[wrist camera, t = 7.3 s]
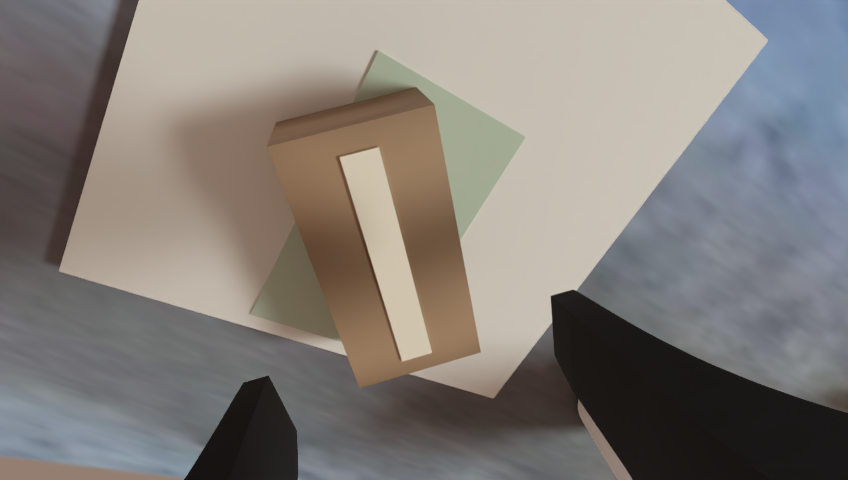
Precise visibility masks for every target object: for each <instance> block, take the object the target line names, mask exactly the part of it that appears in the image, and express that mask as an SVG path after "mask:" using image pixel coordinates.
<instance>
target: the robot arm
mask: <svg viewBox="0 0 848 480" xmlns="http://www.w3.org/2000/svg"><path fill="white" fill-rule="evenodd" d="M551 310H552V324H553V338H554V352H555V357H556V359H557V361H558V363H559V365H560V367H561V369H562V371H563V373H564V375H565V377H566V378H567V380H568V382H569V384H570V386H571V388H572V390H573V391H574V393H575V394H576V396H577V397H578V399H579V400H580V402H581V403H582V405H583V406H584V408H585V409H586V411H587V412H588V414H589V415H590V417H591V418H592V420H593V421H594V423H595V424H596V426H597V427H598V429H599V430H600V432H601V433H602V435H603V436H604V437H605V439H606V440H607V442H608V443H609V445H610V446H611V448H612V449H613V451H614V452H615V454H616V455H617V457H618V458H619V460H620V461H621V462H622V464H623V465H624V467H625V468H626V470H627V472H628V473H629V475H630V476H631V478H632V480H848V413H846V412H842V411H839V410H835V409H832V408H829V407H825V406H822V405H819V404H816V403H813V402H810V401H806V400H803V399H801V398H798V397H795V396H792V395H789V394H786V393H783V392H781V391H778V390H775V389H772V388H769V387H766V386H764V385H761V384H758V383H756V382H753V381H750V380H748V379H745V378H743V377H740V376H738V375H736V374H733V373H731V372H728V371H726V370H724V369H721V368H719V367H716V366H714V365H712V364H709V363H707V362H705V361H703V360H701V359H698V358H696V357H694V356H692V355H690V354H688V353H686V352H684V351H682V350H680V349H678V348H676V347H674V346H672V345H670V344H668V343H666V342H664V341H662V340H660V339H658V338H656V337H654V336H652V335H651V334H649V333H647V332H645V331H643V330H641V329H640V328H638V327H636V326H634V325H633V324H631V323H629V322H627V321H626V320H624V319H622V318H620V317H619V316H617V315H615V314H614V313H612V312H610V311H609V310H607V309H605V308H604V307H602V306H600V305H599V304H597V303H595V302H594V301H592V300H590V299H589V298H587V297H585V296H584V295H582V294H580V293H579V292H577V291H575V290H570V291H566V292H562V293H559V294H555V295H552V296H551ZM184 480H298V450H297V430H296V428H295V426H294V424H293V423H292V421H291V419H290V417H289V415H288V413H287V411H286V409H285V407H284V405H283V403H282V401H281V399H280V397H279V395H278V393H277V391H276V389H275V387H274V385H273V383H272V382H271V380H270V378H269V376H266V377H262V378H259V379H255V380H252V381H248V382H245V383H243V385H242V386H241V388H240V389H239V391H238V393H237V394H236V396H235V398H234V399H233V401H232V403H231V404H230V406H229V408H228V409H227V411H226V413H225V414H224V416H223V418H222V420H221V421H220V423H219V425H218V426H217V428H216V430H215V431H214V433H213V435H212V436H211V438H210V440H209V441H208V443H207V444H206V446H205V448H204V449H203V451H202V453H201V454H200V456H199V457H198V459H197V461H196V462H195V464H194V465H193V467H192V469H191V470H190V472H189V473H188V475H187V476H186V478H185V479H184Z"/></svg>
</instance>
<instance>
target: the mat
mask: <svg viewBox="0 0 848 480" xmlns="http://www.w3.org/2000/svg"><path fill="white" fill-rule="evenodd" d="M767 42H768V39H766V38H765V37H764V36H763V35H762V34H761V33H760V32H759V31H758V30H757V29H756V28H755V27H754V26H753V25H752V24H750V23H749V22H748V21H747V20H746V19H745V18H744V17H743V16H742V15H741V14H740V13H739V12H738V11H737V10H736V9H734V8H733V7H732V6H731V5H730V4H729V3H728V2H727V1H726V0H139V2H138V5H137V8H136V12H135V15H134V18H133V22H132V25H131V29H130V32H129V35H128V39H127V42H126V46H125V49H124V52H123V56H122V59H121V62H120V66H119V69H118V73H117V76H116V79H115V83H114V86H113V90H112V93H111V96H110V100H109V103H108V106H107V110H106V113H105V117H104V120H103V123H102V127H101V130H100V133H99V137H98V140H97V144H96V147H95V150H94V154H93V157H92V161H91V164H90V167H89V171H88V174H87V177H86V181H85V184H84V188H83V191H82V194H81V198H80V201H79V205H78V208H77V211H76V215H75V218H74V221H73V225H72V228H71V232H70V235H69V238H68V242H67V245H66V249H65V252H64V255H63V259H62V262H61V265H60V269H59V272H63V273H66V274H69V275H73V276H76V277H80V278H83V279H87V280H90V281H93V282H97V283H100V284H104V285H107V286H110V287H114V288H117V289H121V290H124V291H128V292H131V293H134V294H138V295H141V296H145V297H148V298H151V299H155V300H158V301H162V302H165V303H168V304H172V305H175V306H179V307H182V308H186V309H189V310H192V311H196V312H199V313H203V314H206V315H209V316H213V317H216V318H220V319H223V320H227V321H230V322H233V323H237V324H240V325H244V326H247V327H250V328H254V329H257V330H261V331H264V332H268V333H271V334H274V335H278V336H281V337H285V338H288V339H291V340H295V341H298V342H302V343H305V344H308V345H312V346H315V347H319V348H322V349H326V350H329V351H332V352H336V353H339V354H343V355H346V356H347V354H346V352H345V349H344V346H343V344H342V341H341V339H340V336H339V333H338V331H337V328H336V326H335V323H334V320H333V318H332V315H331V313H330V310H329V307H328V305H327V302H326V300H325V297H324V295H323V292H322V289H321V287H320V284H319V282H318V279H317V276H316V274H315V271H314V269H313V266H312V263H311V261H310V258H309V256H308V253H307V250H306V248H305V245H304V243H303V240H302V238H301V235H300V232H299V230H298V227H297V225H296V222H295V219H294V217H293V214H292V212H291V209H290V206H289V204H288V201H287V199H286V196H285V193H284V191H283V188H282V186H281V183H280V180H279V178H278V175H277V173H276V170H275V168H274V165H273V162H272V160H271V157H270V155H269V152H268V149H267V144H268V142H269V139H270V137H271V134H272V132H273V129H274V126H275V124H276V122H279V121H283V120H287V119H291V118H295V117H299V116H303V115H307V114H311V113H315V112H319V111H323V110H327V109H331V108H335V107H339V106H343V105H347V104H351V103H355V102H359V101H363V100H367V99H371V98H375V97H379V96H383V95H387V94H391V93H395V92H399V91H403V90H407V89H411V88H415V87H417V88H418V89H419V90H420V91H421V92H422V93H423V94H424V95H425V96H426V97H427V98H428V99H429V100H431V101H432V102H433V103H434V104H435V109H436V115H437V120H438V125H439V131H440V136H441V142H442V147H443V152H444V158H445V163H446V168H447V174H448V179H449V184H450V190H451V195H452V200H453V206H454V211H455V217H456V222H457V227H458V233H459V238H460V243H461V249H462V254H463V259H464V265H465V270H466V275H467V281H468V286H469V292H470V297H471V302H472V308H473V313H474V318H475V324H476V329H477V334H478V340H479V345H480V350H481V352H480V353H477V354H474V355H470V356H467V357H464V358H460V359H457V360H453V361H450V362H447V363H443V364H440V365H437V366H433V367H430V368H426V369H423V370H420V371H416V372H413V373H410V374H411V375H414V376H418V377H421V378H425V379H428V380H431V381H435V382H438V383H442V384H445V385H449V386H452V387H455V388H459V389H462V390H466V391H469V392H472V393H476V394H479V395H483V396H486V397H489V398H494V397H495V396H496V394H497V393H498V392H499V391H500V389H501V388H502V387H503V385H504V384H505V383H506V381H507V380H508V379H509V378H510V376H511V375H512V374H513V372H514V371H515V370H516V368H517V367H518V366H519V365H520V363H521V362H522V361H523V359H524V358H525V357H526V355H527V354H528V353H529V351H530V350H531V349H532V348H533V346H534V345H535V344H536V342H537V341H538V340H539V338H540V337H541V336H542V335H543V333H544V332H545V331H546V329H547V328H548V327H549V325H550V324H551V323H552V310H551V296H552V295H555V294H559V293H562V292H566V291H570V290H575V291H576V290H577V289H578V288H579V286H580V285H581V284H582V283H583V281H584V280H585V279H586V277H587V276H588V275H589V273H590V272H591V271H592V269H593V268H594V267H595V266H596V264H597V263H598V262H599V260H600V259H601V258H602V256H603V255H604V254H605V253H606V251H607V250H608V249H609V247H610V246H611V245H612V243H613V242H614V241H615V240H616V238H617V237H618V236H619V234H620V233H621V232H622V230H623V229H624V228H625V227H626V225H627V224H628V223H629V221H630V220H631V219H632V217H633V216H634V215H635V214H636V212H637V211H638V210H639V208H640V207H641V206H642V204H643V203H644V202H645V201H646V199H647V198H648V197H649V195H650V194H651V193H652V191H653V190H654V189H655V187H656V186H657V185H658V184H659V182H660V181H661V180H662V178H663V177H664V176H665V174H666V173H667V172H668V171H669V169H670V168H671V167H672V165H673V164H674V163H675V161H676V160H677V159H678V158H679V156H680V155H681V154H682V152H683V151H684V150H685V148H686V147H687V146H688V145H689V143H690V142H691V141H692V139H693V138H694V137H695V135H696V134H697V133H698V132H699V130H700V129H701V128H702V126H703V125H704V124H705V122H706V121H707V120H708V118H709V117H710V116H711V115H712V113H713V112H714V111H715V109H716V108H717V107H718V105H719V104H720V103H721V102H722V100H723V99H724V98H725V96H726V95H727V94H728V92H729V91H730V90H731V89H732V87H733V86H734V85H735V83H736V82H737V81H738V79H739V78H740V77H741V76H742V74H743V73H744V72H745V70H746V69H747V68H748V66H749V65H750V64H751V63H752V61H753V60H754V59H755V57H756V56H757V55H758V53H759V52H760V51H761V50H762V48H763V47H764V46H765V44H766V43H767Z"/></svg>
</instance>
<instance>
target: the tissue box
mask: <svg viewBox="0 0 848 480" xmlns="http://www.w3.org/2000/svg"><path fill="white" fill-rule="evenodd" d="M267 149H268V152H269V155H270V157H271V160H272V162H273V165H274V168H275V170H276V173H277V175H278V178H279V180H280V183H281V186H282V188H283V191H284V193H285V196H286V199H287V201H288V204H289V206H290V209H291V212H292V214H293V217H294V219H295V222H296V225H297V227H298V230H299V232H300V235H301V238H302V240H303V243H304V245H305V248H306V250H307V253H308V256H309V258H310V261H311V263H312V266H313V269H314V271H315V274H316V276H317V279H318V282H319V284H320V287H321V289H322V292H323V295H324V297H325V300H326V302H327V305H328V307H329V310H330V313H331V315H332V318H333V320H334V323H335V326H336V328H337V331H338V333H339V336H340V339H341V341H342V344H343V346H344V349H345V352H346V354H347V357H348V359H349V362H350V364H351V367H352V370H353V372H354V375H355V377H356V380H357V383H358V385H359V388H362V387H366V386H369V385H372V384H376V383H379V382H383V381H386V380H389V379H393V378H396V377H399V376H403V375H406V374H410V373H413V372H416V371H420V370H423V369H426V368H430V367H433V366H437V365H440V364H443V363H447V362H450V361H453V360H457V359H460V358H464V357H467V356H470V355H474V354H477V353H480V352H481V350H480V345H479V340H478V334H477V329H476V324H475V318H474V313H473V308H472V302H471V297H470V292H469V286H468V281H467V275H466V270H465V265H464V259H463V254H462V249H461V243H460V238H459V233H458V227H457V222H456V217H455V211H454V206H453V200H452V195H451V190H450V184H449V179H448V174H447V168H446V163H445V158H444V152H443V147H442V142H441V136H440V131H439V125H438V120H437V115H436V109H435V104H434V103H433V102H432V101H431V100H429V99H428V98H427V97H426V96H425V95H424V94H423V93H422V92H421V91H420V90H419V89H418V88H417V87H415V88H411V89H407V90H403V91H399V92H395V93H391V94H387V95H383V96H379V97H375V98H371V99H367V100H363V101H359V102H355V103H351V104H347V105H343V106H339V107H335V108H331V109H327V110H323V111H319V112H315V113H311V114H307V115H303V116H299V117H295V118H291V119H287V120H283V121H279V122H276V124H275V126H274V129H273V132H272V134H271V137H270V139H269V142H268V144H267Z"/></svg>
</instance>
